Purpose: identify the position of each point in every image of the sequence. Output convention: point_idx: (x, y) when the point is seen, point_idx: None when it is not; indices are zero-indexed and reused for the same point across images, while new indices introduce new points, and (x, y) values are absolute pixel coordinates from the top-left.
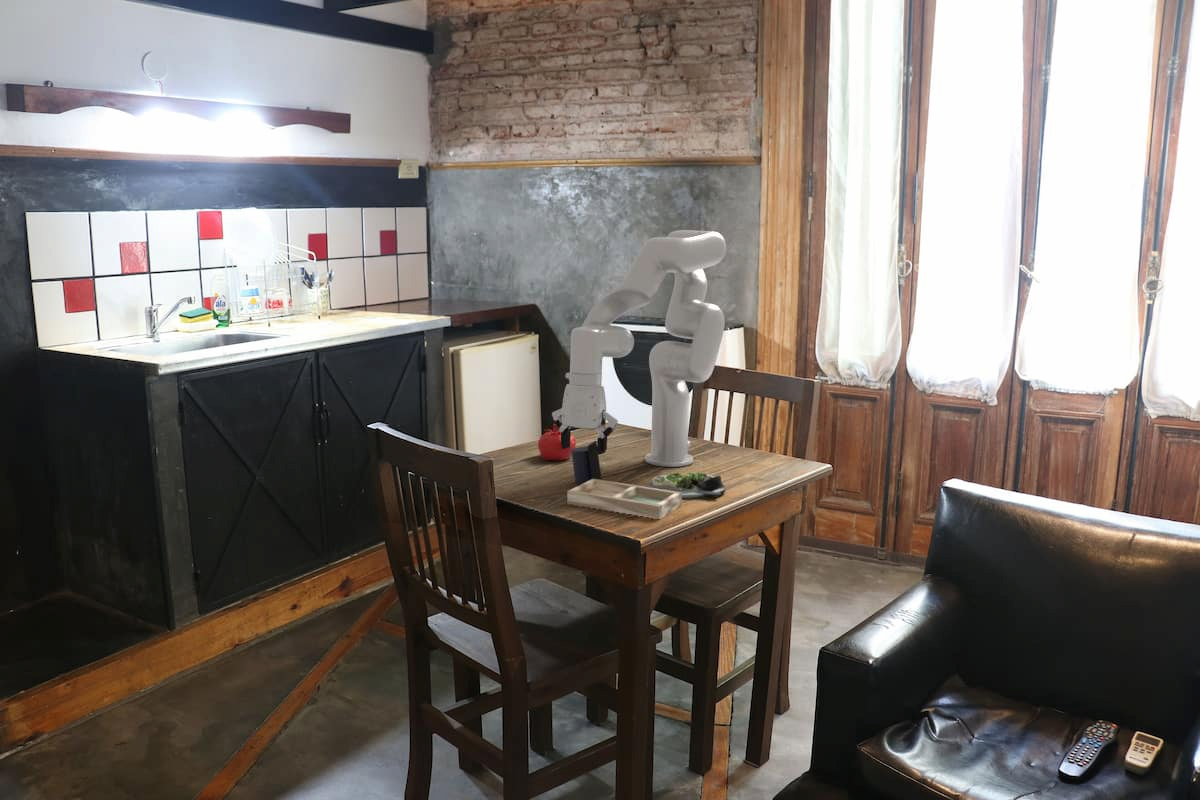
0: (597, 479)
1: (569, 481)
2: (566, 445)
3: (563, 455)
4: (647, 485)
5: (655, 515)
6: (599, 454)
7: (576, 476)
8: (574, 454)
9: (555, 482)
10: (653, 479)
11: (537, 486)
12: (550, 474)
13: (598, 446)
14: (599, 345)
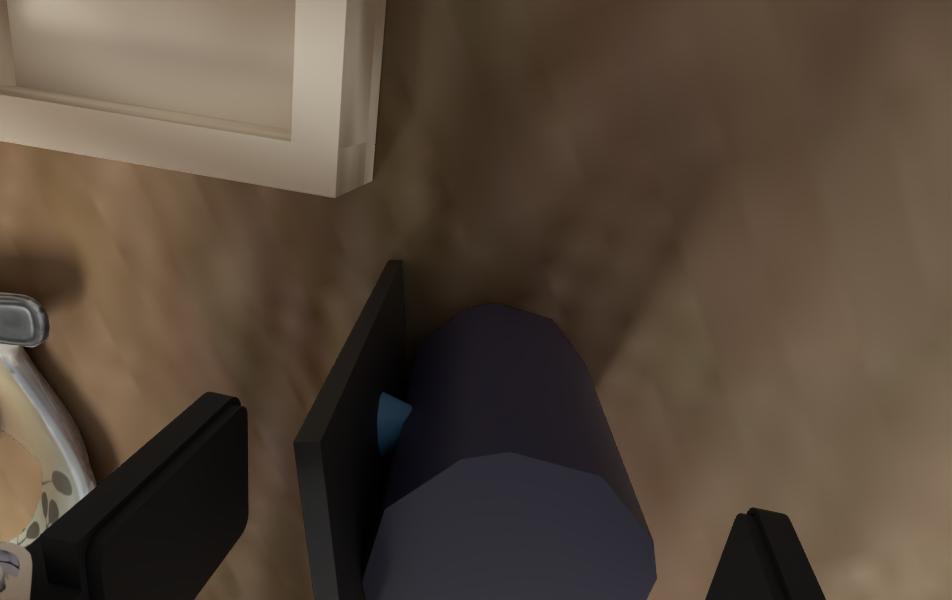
0: (286, 186)
1: (636, 370)
2: (729, 581)
3: None
4: (7, 313)
5: None
6: (217, 395)
7: (557, 342)
8: (578, 451)
9: (741, 311)
10: (73, 481)
11: (875, 141)
12: (844, 502)
13: (162, 448)
14: None
